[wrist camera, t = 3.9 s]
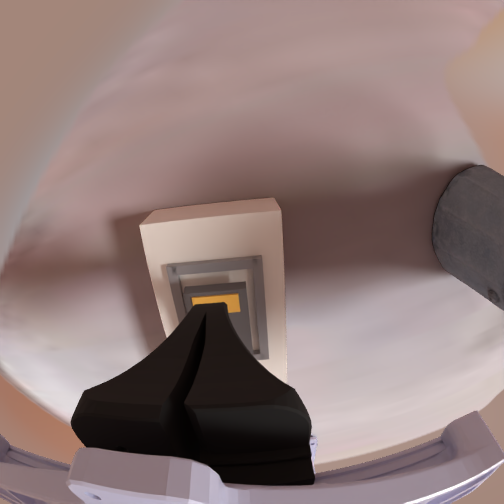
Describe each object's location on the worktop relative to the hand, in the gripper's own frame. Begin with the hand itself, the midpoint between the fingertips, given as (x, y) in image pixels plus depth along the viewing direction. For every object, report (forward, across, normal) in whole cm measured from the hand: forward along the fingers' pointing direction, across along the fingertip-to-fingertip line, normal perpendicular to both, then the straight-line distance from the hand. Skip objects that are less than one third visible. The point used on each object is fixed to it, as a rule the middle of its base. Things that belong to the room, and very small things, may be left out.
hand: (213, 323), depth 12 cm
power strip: (+7, 0, +6) cm, 9 cm away
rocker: (+2, 0, +2) cm, 3 cm away
